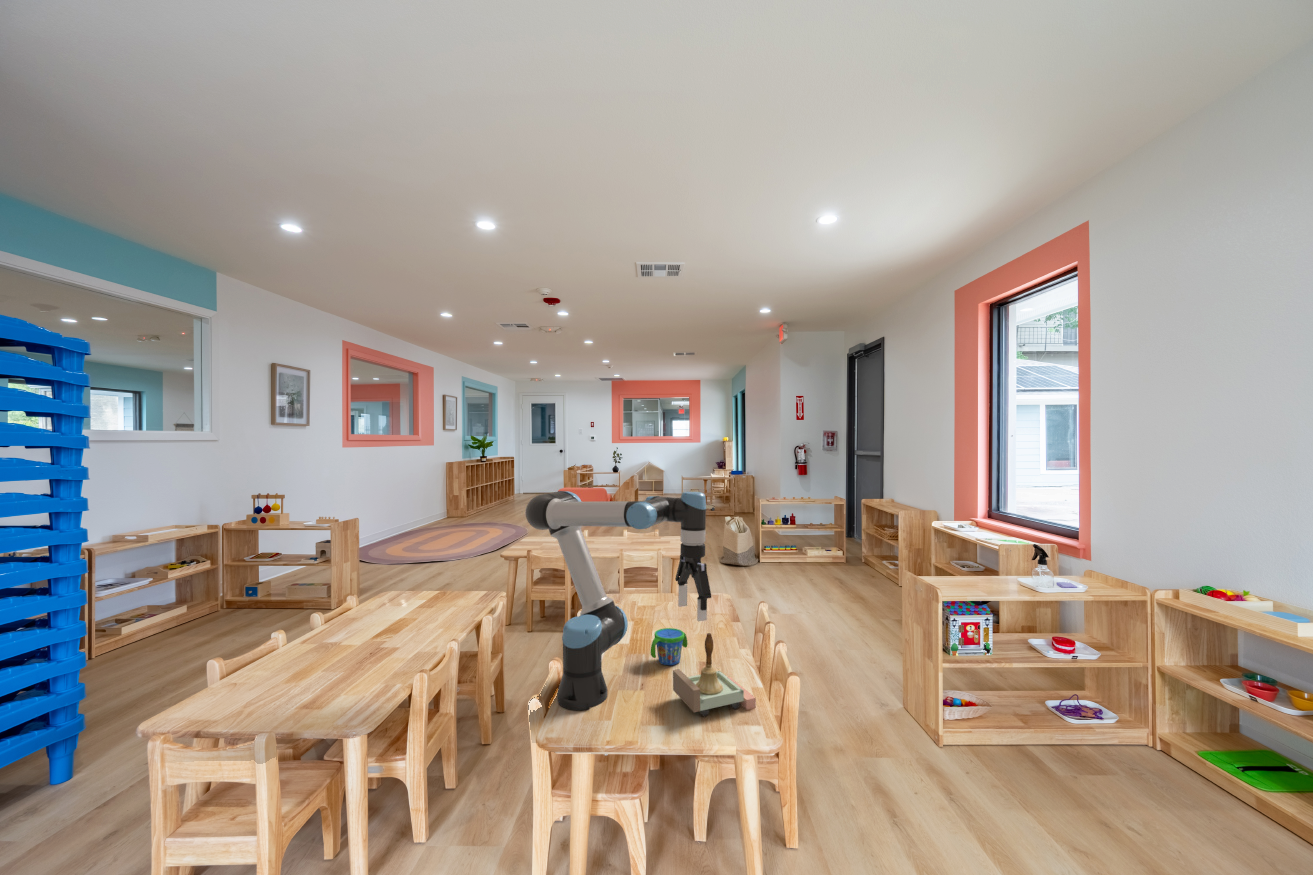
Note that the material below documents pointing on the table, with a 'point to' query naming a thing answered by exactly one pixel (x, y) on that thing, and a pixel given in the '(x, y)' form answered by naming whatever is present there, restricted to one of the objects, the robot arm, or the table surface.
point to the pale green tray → (704, 702)
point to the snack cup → (669, 645)
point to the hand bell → (709, 672)
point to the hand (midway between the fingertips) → (691, 612)
